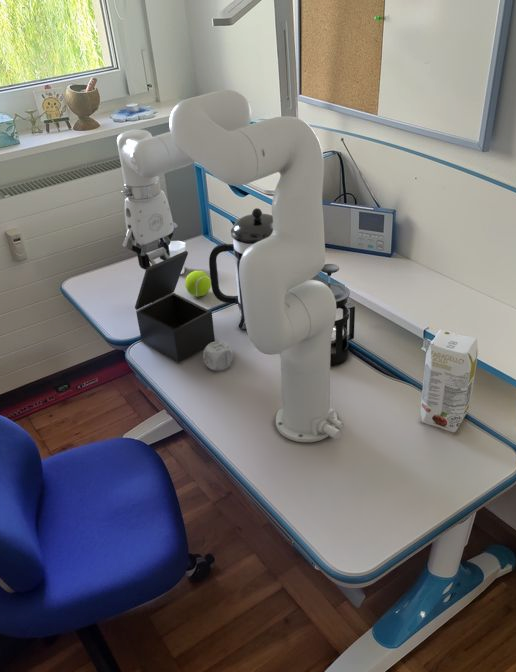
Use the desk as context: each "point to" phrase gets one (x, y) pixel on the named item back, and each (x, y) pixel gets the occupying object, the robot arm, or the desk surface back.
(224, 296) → the coffee press
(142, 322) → the hinged black storage box
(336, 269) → the french press
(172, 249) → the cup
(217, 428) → the desk surface
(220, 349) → the die
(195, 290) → the tennis ball
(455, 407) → the juice carton
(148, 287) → the lid
